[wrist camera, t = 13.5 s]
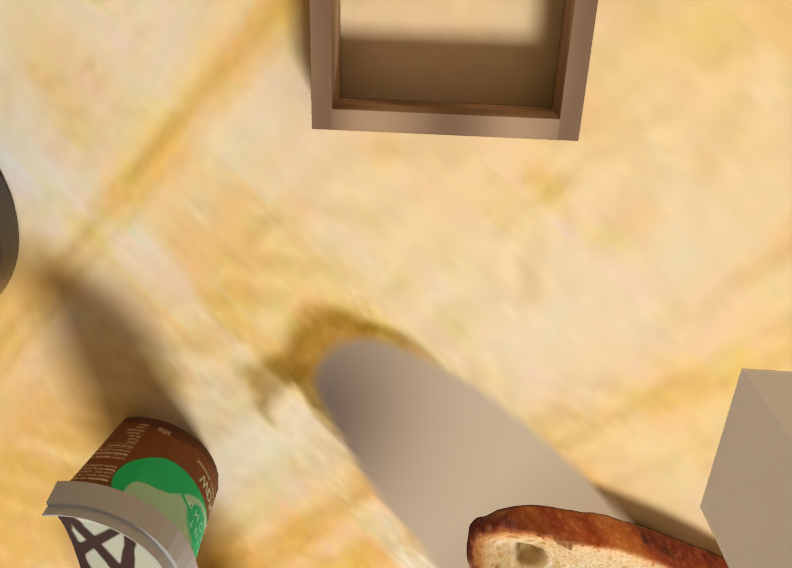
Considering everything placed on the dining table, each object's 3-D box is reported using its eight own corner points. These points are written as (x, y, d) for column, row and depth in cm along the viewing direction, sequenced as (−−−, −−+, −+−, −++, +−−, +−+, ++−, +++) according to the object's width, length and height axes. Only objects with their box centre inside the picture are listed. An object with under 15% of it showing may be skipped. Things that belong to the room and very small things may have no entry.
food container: (255, 533, 50) (213, 659, 41) (174, 540, 51) (116, 665, 42) (206, 388, 45) (146, 496, 36) (118, 399, 46) (37, 507, 37)
